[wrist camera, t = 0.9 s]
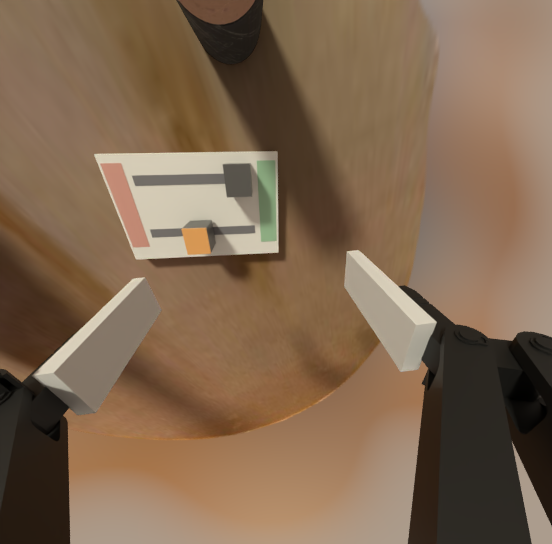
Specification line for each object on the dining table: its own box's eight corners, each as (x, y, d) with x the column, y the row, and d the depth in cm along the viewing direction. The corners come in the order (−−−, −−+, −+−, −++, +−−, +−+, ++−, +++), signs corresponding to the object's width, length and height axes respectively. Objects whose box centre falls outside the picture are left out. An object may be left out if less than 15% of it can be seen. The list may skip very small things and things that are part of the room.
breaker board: (142, 254, 33) (121, 271, 28) (104, 154, 26) (68, 153, 21) (277, 247, 34) (280, 263, 29) (276, 151, 27) (280, 150, 22)
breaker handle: (195, 243, 30) (187, 254, 27) (190, 220, 28) (181, 229, 25) (215, 243, 30) (210, 253, 27) (211, 219, 29) (205, 228, 25)
